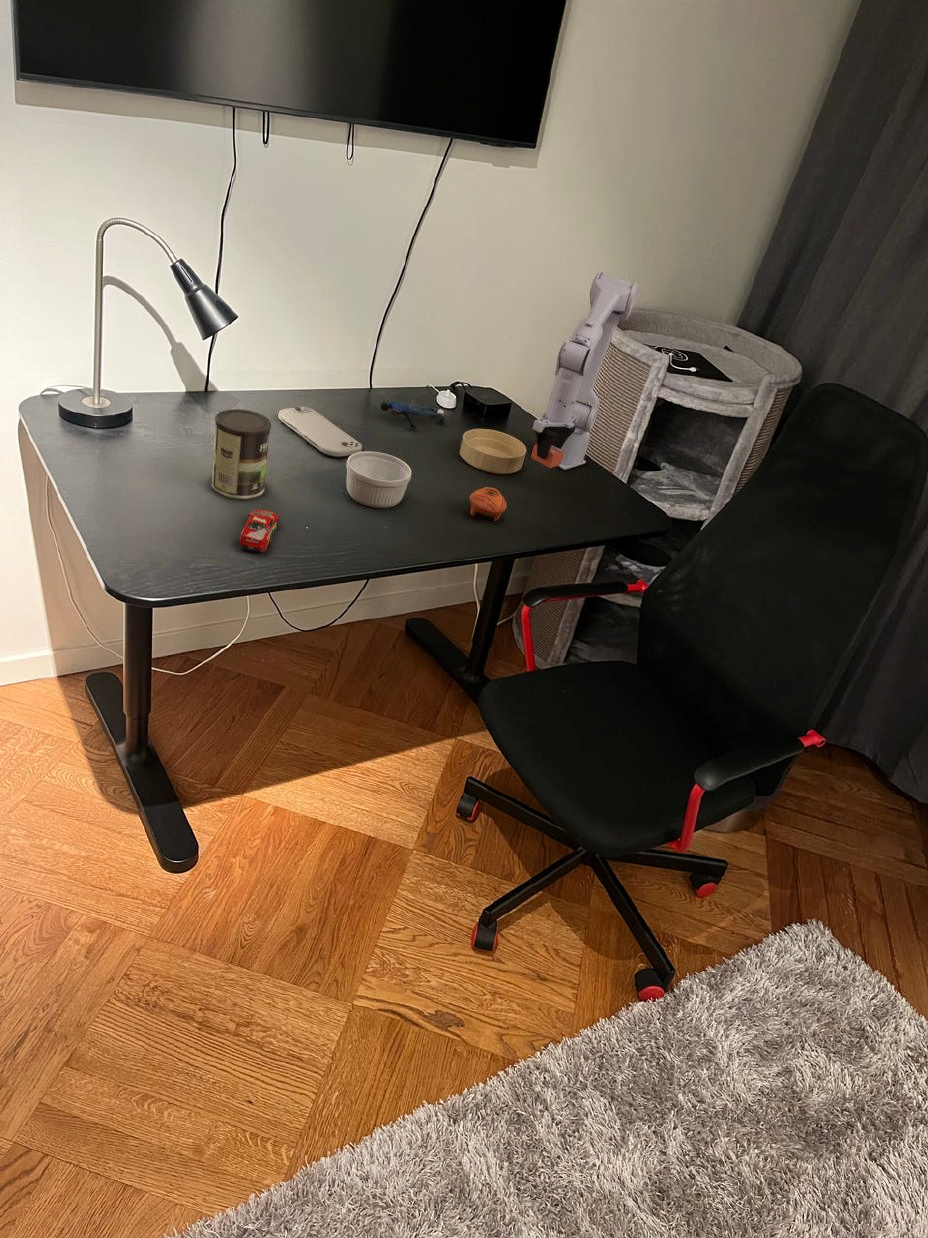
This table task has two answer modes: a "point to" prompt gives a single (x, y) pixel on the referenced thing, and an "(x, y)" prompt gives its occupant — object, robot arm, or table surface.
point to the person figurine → (413, 411)
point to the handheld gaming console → (319, 432)
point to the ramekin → (377, 479)
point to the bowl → (492, 451)
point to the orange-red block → (549, 457)
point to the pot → (487, 502)
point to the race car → (259, 530)
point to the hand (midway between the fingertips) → (547, 455)
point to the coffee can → (240, 453)
